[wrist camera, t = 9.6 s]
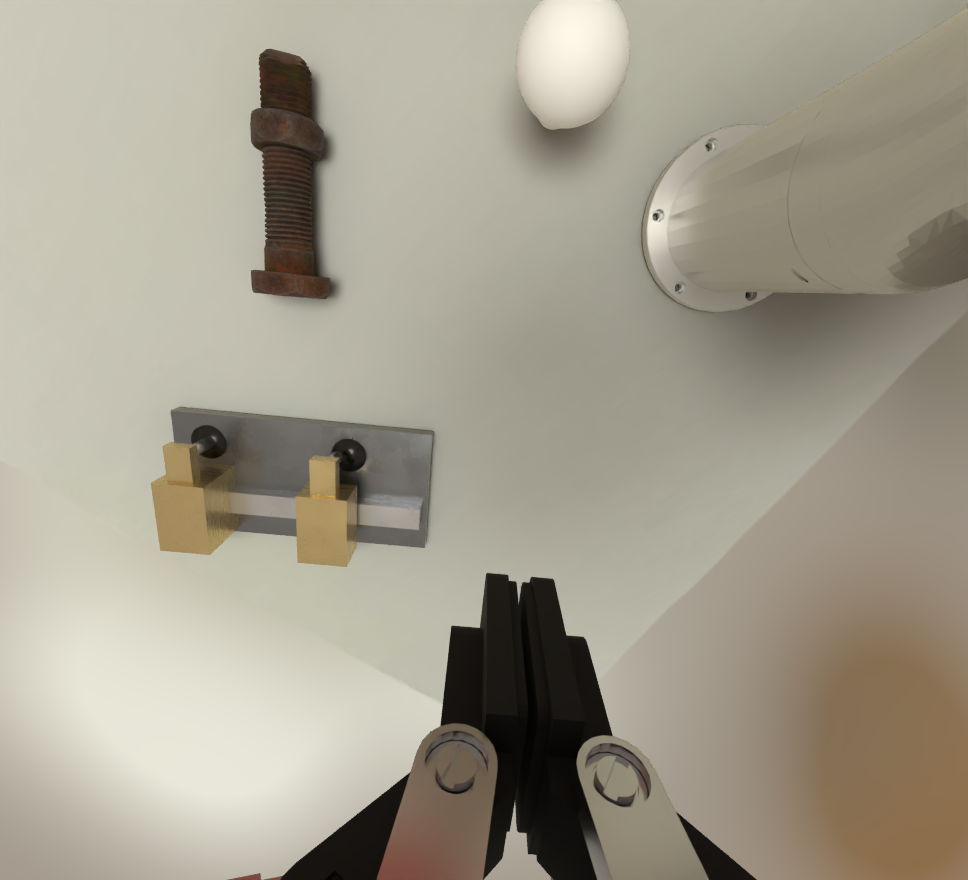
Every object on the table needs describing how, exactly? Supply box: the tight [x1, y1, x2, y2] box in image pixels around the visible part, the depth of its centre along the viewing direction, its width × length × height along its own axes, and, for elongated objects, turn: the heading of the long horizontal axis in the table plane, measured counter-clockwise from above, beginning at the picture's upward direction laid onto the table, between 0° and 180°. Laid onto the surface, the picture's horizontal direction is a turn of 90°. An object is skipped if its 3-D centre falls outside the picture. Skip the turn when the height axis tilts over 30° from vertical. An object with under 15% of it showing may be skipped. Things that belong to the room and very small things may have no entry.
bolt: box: [250, 49, 329, 299], centre depth 33 cm, size 6×5×15 cm
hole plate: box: [151, 407, 433, 555], centre depth 39 cm, size 22×11×6 cm, turn 85°
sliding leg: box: [295, 451, 357, 567], centre depth 38 cm, size 4×9×4 cm, turn 174°
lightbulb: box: [516, 0, 630, 130], centre depth 28 cm, size 6×6×11 cm
